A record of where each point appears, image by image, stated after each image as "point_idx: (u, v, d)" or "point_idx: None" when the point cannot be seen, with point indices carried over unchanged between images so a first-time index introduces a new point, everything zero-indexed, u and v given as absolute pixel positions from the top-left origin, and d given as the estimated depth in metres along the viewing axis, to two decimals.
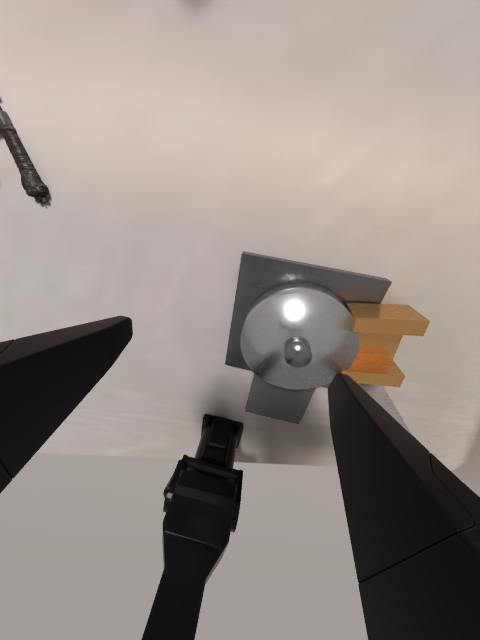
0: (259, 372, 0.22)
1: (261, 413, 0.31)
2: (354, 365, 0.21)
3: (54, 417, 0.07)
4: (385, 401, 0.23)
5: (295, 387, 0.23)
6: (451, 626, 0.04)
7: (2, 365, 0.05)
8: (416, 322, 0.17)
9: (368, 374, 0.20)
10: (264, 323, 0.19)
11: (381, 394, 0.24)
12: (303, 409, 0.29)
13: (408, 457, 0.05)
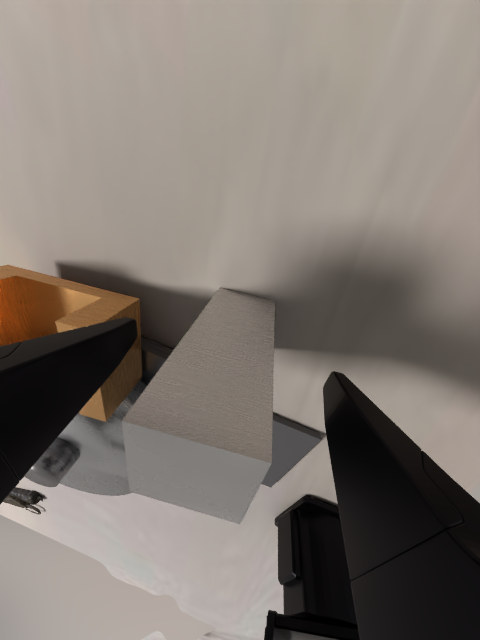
0: (120, 490, 0.15)
1: (279, 473, 0.17)
2: None
3: (60, 419, 0.07)
4: None
5: None
6: (439, 623, 0.04)
7: (11, 367, 0.05)
8: None
9: None
10: None
11: None
12: (277, 424, 0.15)
13: (399, 455, 0.05)
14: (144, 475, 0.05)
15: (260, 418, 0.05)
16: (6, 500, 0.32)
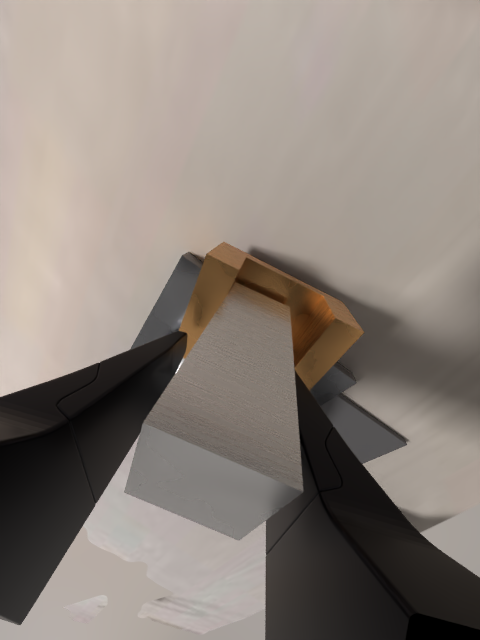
0: None
1: None
2: None
3: (128, 438, 0.07)
4: None
5: None
6: (306, 582, 0.04)
7: (104, 393, 0.05)
8: (203, 276, 0.09)
9: (298, 369, 0.10)
10: None
11: None
12: (377, 427, 0.17)
13: (306, 429, 0.05)
14: (148, 480, 0.04)
15: (287, 437, 0.04)
16: None
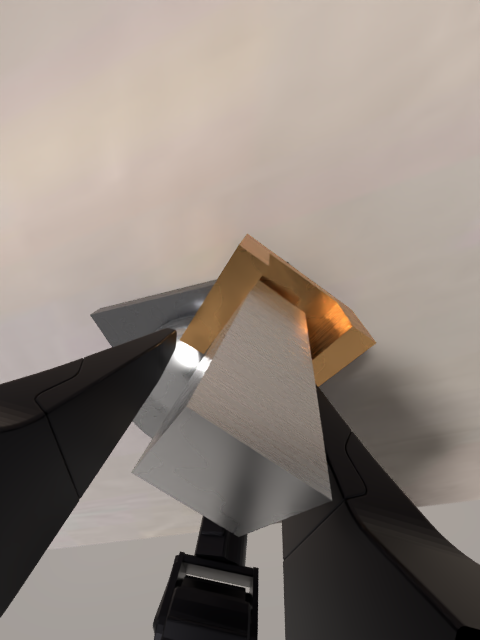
0: None
1: None
2: None
3: (113, 434, 0.07)
4: (235, 313, 0.08)
5: None
6: (333, 590, 0.04)
7: (85, 388, 0.05)
8: (230, 267, 0.08)
9: None
10: (150, 419, 0.14)
11: None
12: None
13: (325, 434, 0.05)
14: (165, 464, 0.04)
15: (314, 443, 0.04)
16: None
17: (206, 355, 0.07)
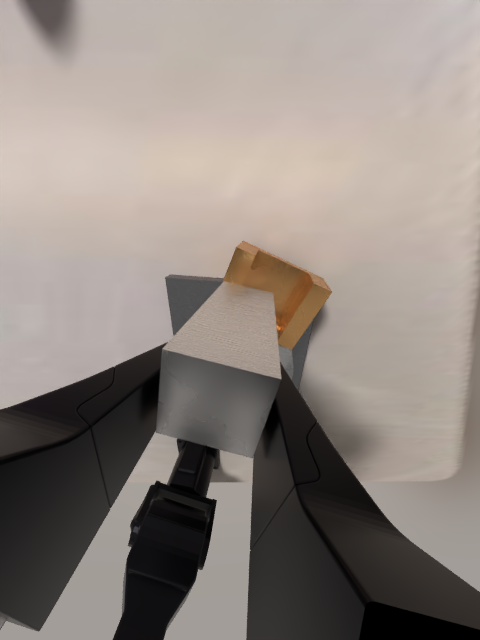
0: None
1: None
2: (284, 323, 0.17)
3: (140, 442, 0.07)
4: None
5: None
6: (281, 575, 0.04)
7: (122, 398, 0.05)
8: (233, 260, 0.14)
9: (293, 320, 0.16)
10: None
11: None
12: None
13: (288, 424, 0.05)
14: (172, 409, 0.06)
15: (269, 356, 0.06)
16: None
17: None
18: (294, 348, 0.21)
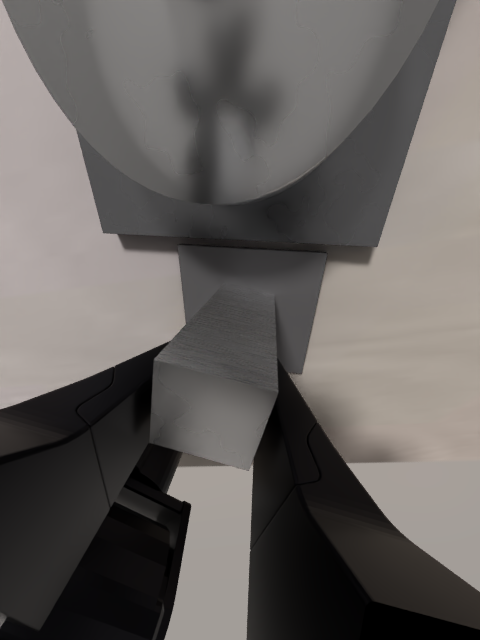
0: (272, 170, 0.06)
1: None
2: None
3: (140, 442, 0.07)
4: None
5: None
6: (282, 575, 0.04)
7: (122, 398, 0.05)
8: None
9: None
10: (83, 58, 0.06)
11: None
12: (305, 333, 0.13)
13: (289, 424, 0.05)
14: (165, 420, 0.06)
15: (267, 367, 0.06)
16: None
17: None
18: None
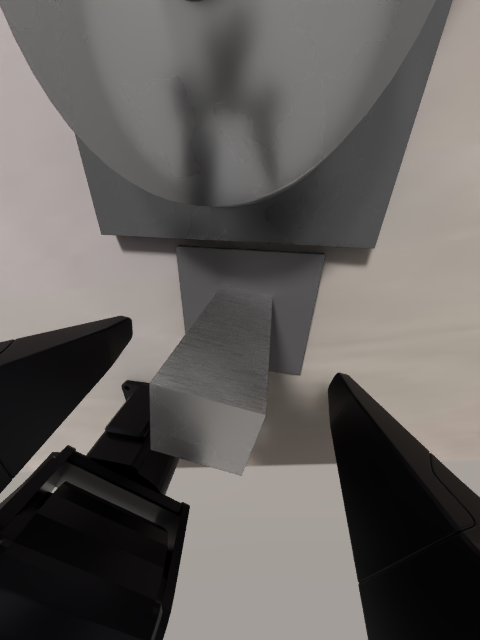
0: (269, 173, 0.06)
1: None
2: None
3: (54, 417, 0.07)
4: None
5: (419, 4, 0.05)
6: (451, 627, 0.04)
7: (2, 365, 0.05)
8: None
9: None
10: (81, 61, 0.06)
11: None
12: (303, 334, 0.13)
13: (408, 457, 0.05)
14: (164, 433, 0.06)
15: (257, 385, 0.06)
16: None
17: None
18: None
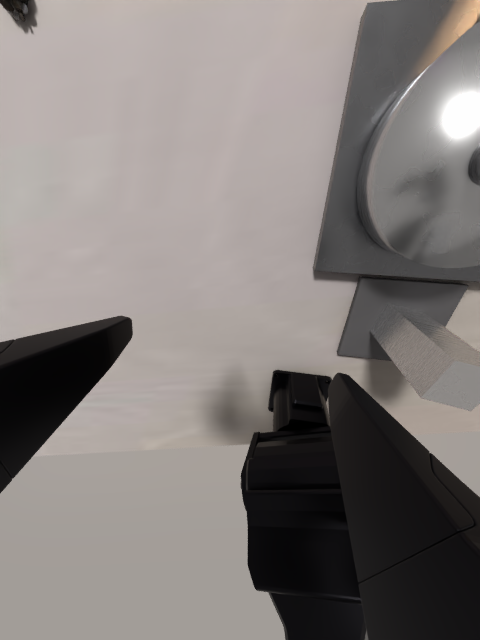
0: None
1: (363, 354, 0.21)
2: None
3: (54, 417, 0.07)
4: (399, 326, 0.16)
5: None
6: (451, 626, 0.04)
7: (2, 365, 0.05)
8: None
9: None
10: (407, 202, 0.12)
11: (393, 320, 0.17)
12: None
13: (408, 457, 0.05)
14: (439, 387, 0.12)
15: None
16: None
17: (399, 350, 0.15)
18: None
